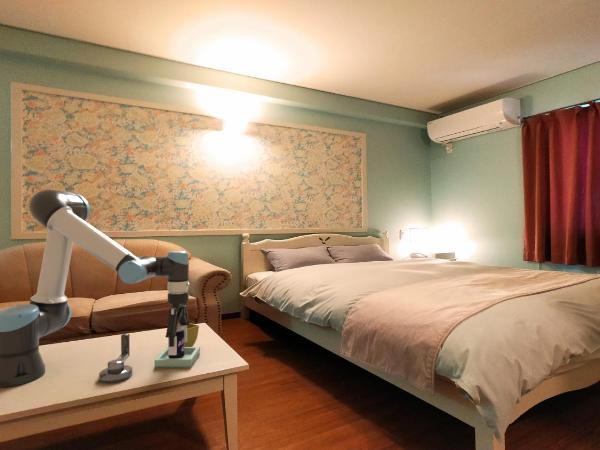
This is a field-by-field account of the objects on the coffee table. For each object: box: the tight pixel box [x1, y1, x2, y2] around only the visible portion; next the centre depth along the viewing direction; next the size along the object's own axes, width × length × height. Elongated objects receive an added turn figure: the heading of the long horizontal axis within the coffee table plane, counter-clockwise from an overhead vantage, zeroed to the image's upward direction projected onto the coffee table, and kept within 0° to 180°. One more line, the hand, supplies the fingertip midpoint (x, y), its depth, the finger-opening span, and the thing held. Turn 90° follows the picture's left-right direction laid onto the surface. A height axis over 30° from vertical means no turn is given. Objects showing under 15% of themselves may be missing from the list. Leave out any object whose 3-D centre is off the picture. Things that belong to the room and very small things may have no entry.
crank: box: [107, 332, 131, 374], centre depth 124 cm, size 15×5×9 cm, turn 12°
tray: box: [154, 346, 201, 369], centre depth 132 cm, size 13×13×3 cm
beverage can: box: [168, 325, 184, 359], centre depth 132 cm, size 6×6×12 cm
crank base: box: [98, 364, 133, 385], centre depth 119 cm, size 10×10×2 cm
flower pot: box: [178, 322, 200, 347], centre depth 147 cm, size 9×9×9 cm
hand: (178, 348), depth 132 cm, fingers open, 13 cm apart
